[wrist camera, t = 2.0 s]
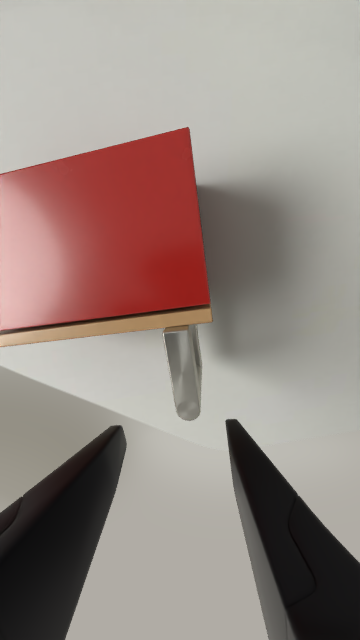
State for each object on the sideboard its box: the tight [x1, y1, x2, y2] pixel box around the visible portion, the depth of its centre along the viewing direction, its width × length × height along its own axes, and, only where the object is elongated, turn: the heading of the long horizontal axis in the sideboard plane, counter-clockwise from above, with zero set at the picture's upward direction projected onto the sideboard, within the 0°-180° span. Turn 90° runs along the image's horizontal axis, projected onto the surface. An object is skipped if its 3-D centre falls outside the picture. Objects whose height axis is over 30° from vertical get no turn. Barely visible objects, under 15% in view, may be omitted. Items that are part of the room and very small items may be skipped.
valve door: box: [0, 293, 213, 421], centre depth 17 cm, size 6×15×8 cm, turn 99°
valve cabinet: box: [0, 127, 210, 331], centre depth 15 cm, size 8×15×8 cm, turn 99°
